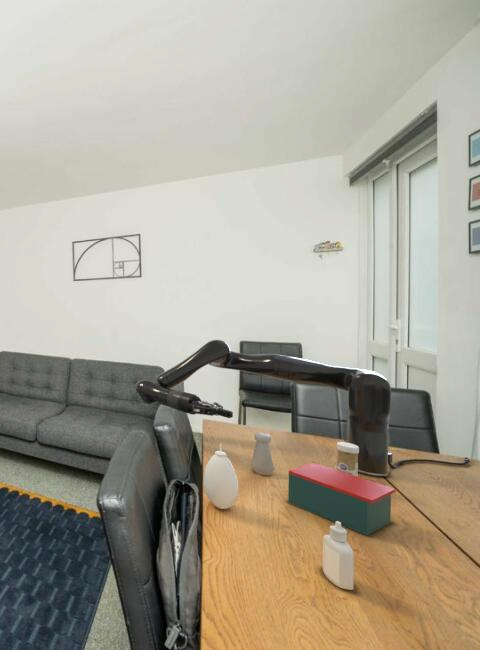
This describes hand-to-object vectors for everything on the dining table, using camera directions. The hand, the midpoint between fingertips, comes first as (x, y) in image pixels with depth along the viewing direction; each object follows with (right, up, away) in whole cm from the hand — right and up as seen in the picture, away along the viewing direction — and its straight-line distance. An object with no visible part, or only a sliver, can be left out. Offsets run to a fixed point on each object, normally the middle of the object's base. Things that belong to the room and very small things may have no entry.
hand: (231, 415), depth 121 cm
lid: (+10, -10, -26) cm, 30 cm away
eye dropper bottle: (-14, -20, -49) cm, 54 cm away
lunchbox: (+9, -19, -26) cm, 33 cm away
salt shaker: (+8, -18, -4) cm, 20 cm away
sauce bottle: (-20, -19, -23) cm, 36 cm away
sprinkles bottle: (+25, -18, -14) cm, 34 cm away
